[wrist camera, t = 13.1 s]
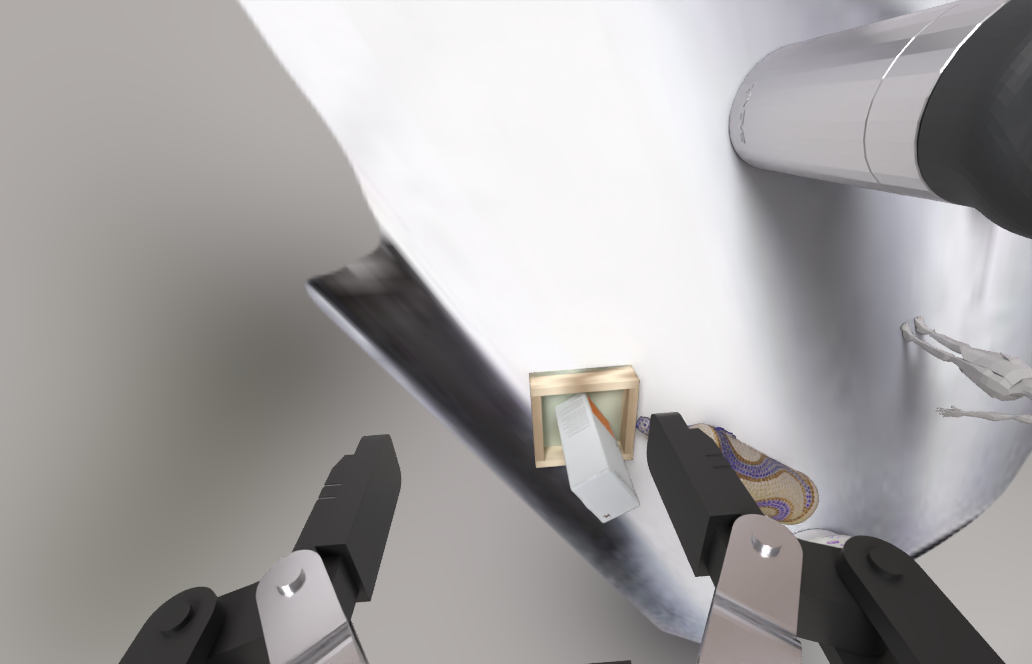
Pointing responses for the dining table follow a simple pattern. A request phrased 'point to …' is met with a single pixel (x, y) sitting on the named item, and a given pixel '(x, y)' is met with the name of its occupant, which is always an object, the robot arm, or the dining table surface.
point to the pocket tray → (606, 389)
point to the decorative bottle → (762, 477)
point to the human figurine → (980, 372)
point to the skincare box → (594, 459)
